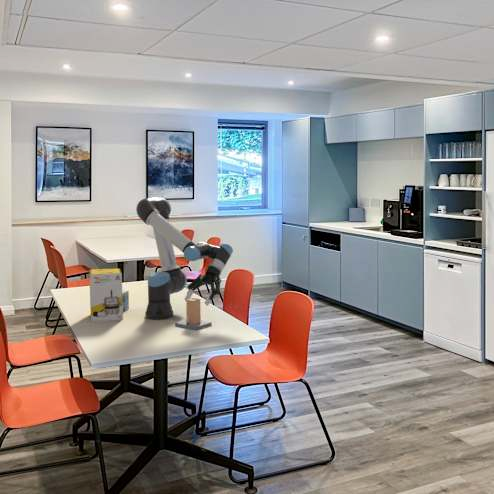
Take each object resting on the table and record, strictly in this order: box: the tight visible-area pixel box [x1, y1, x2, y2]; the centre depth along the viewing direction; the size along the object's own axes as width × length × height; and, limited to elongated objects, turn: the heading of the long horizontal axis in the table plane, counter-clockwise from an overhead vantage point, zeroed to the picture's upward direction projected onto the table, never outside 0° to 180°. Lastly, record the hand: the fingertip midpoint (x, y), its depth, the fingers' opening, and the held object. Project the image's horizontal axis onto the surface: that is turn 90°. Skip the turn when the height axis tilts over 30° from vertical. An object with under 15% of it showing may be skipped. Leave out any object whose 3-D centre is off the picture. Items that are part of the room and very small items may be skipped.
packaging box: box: [88, 268, 124, 322], centre depth 324 cm, size 16×16×25 cm
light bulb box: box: [122, 289, 130, 313], centre depth 341 cm, size 11×7×11 cm, turn 169°
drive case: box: [185, 297, 201, 324], centre depth 307 cm, size 5×5×12 cm
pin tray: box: [174, 313, 213, 331], centre depth 307 cm, size 14×12×5 cm
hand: (195, 302), depth 307 cm, fingers open, 13 cm apart
